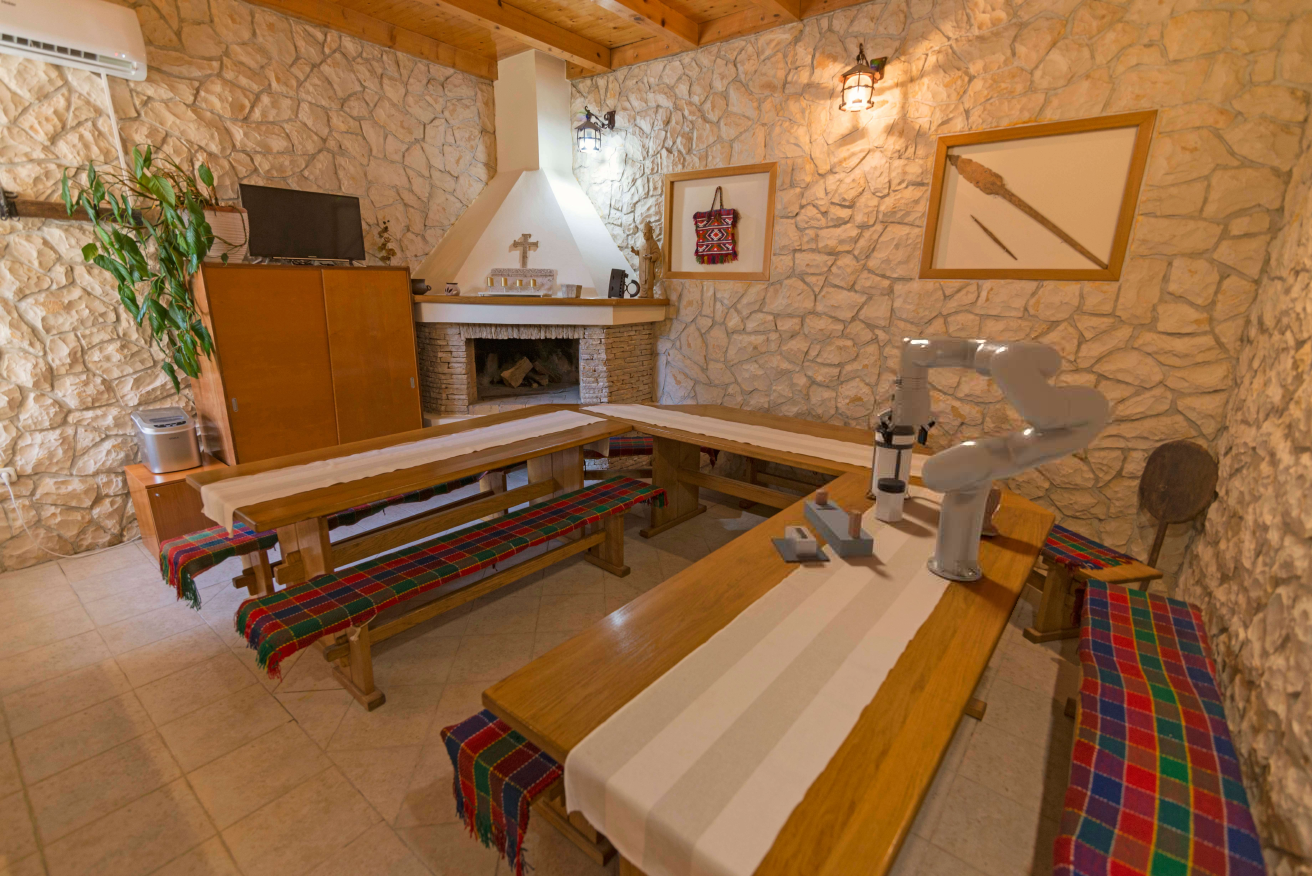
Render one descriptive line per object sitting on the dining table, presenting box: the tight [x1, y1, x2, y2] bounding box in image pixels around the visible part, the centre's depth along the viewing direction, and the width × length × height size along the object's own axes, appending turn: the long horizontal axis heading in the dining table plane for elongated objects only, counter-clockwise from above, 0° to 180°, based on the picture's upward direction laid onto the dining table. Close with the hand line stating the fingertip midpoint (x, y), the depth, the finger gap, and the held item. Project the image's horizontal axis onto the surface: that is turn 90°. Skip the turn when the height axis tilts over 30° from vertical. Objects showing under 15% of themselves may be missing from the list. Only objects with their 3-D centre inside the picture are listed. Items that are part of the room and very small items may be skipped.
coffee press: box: [865, 419, 917, 501], centre depth 194 cm, size 17×16×30 cm
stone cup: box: [981, 484, 1002, 537], centre depth 169 cm, size 15×12×15 cm
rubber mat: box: [770, 537, 831, 563], centre depth 156 cm, size 14×12×1 cm
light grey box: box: [784, 525, 818, 557], centre depth 155 cm, size 10×6×5 cm, turn 4°
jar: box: [874, 478, 906, 523], centre depth 179 cm, size 9×8×12 cm
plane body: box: [803, 488, 875, 558], centre depth 165 cm, size 30×9×12 cm, turn 4°
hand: (904, 444), depth 157 cm, fingers open, 9 cm apart
